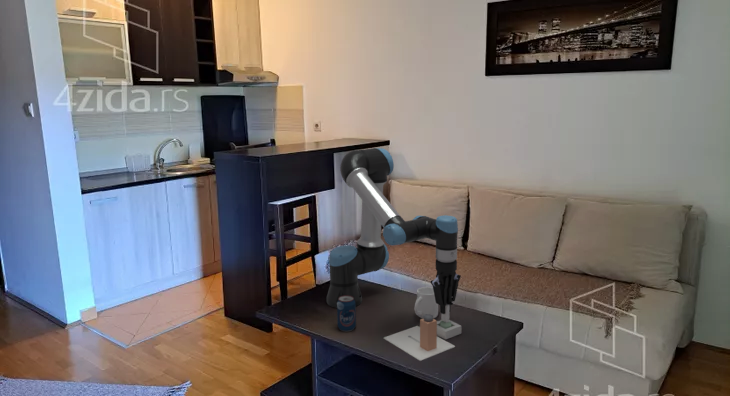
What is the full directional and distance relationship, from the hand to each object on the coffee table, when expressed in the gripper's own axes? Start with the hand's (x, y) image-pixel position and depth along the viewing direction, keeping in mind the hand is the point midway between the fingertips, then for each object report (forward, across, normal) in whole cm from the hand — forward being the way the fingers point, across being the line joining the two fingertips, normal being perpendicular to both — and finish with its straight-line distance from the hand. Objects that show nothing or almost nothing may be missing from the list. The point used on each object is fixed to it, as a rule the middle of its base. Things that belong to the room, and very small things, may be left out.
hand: (445, 320), depth 185 cm
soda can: (+5, -27, +25) cm, 37 cm away
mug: (+5, +3, +15) cm, 16 cm away
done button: (+3, 0, 0) cm, 3 cm away
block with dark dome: (+4, -13, -5) cm, 15 cm away
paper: (+4, -13, 0) cm, 14 cm away
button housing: (+4, 0, 0) cm, 4 cm away
